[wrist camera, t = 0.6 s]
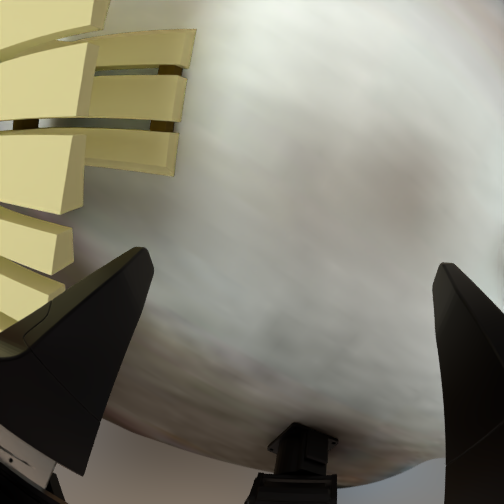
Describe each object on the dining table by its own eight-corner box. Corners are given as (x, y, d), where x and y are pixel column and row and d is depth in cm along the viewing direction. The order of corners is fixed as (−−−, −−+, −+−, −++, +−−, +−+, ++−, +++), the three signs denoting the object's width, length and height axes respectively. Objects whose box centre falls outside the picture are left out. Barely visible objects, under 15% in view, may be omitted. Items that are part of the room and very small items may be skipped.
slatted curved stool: (77, -23, 21) (-43, -66, 4) (214, -47, 19) (118, -166, 2) (45, 235, 31) (-78, 301, 15) (166, 267, 30) (38, 390, 13)
